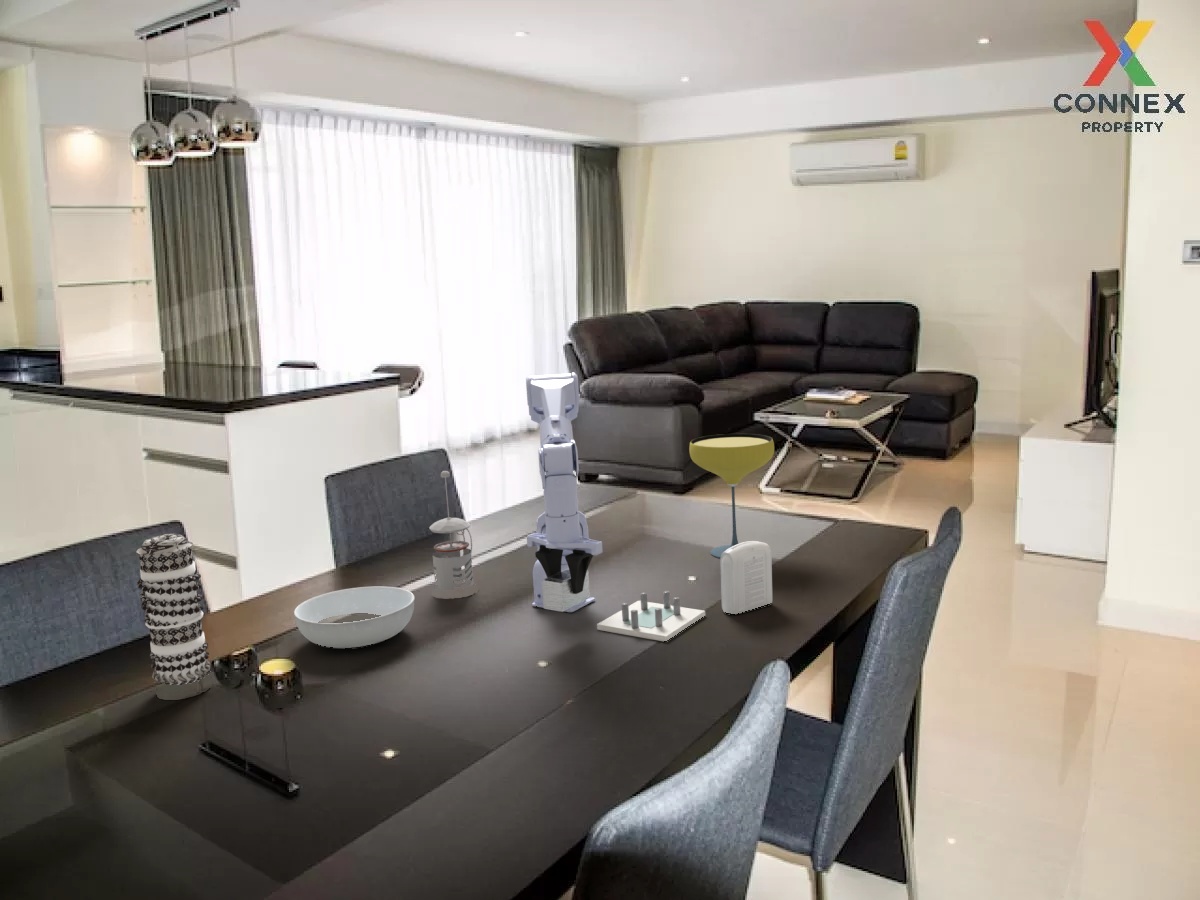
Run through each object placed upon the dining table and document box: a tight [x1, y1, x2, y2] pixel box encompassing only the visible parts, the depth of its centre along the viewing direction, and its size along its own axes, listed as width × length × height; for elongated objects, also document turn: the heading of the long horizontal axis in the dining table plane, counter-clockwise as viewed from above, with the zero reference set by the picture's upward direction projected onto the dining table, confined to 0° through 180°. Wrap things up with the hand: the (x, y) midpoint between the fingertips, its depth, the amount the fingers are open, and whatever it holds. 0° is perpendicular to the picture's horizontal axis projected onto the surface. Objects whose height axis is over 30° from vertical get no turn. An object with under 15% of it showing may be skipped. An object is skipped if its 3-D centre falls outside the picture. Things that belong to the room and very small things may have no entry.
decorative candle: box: [136, 533, 212, 686], centre depth 154 cm, size 9×9×25 cm
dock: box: [596, 590, 706, 642], centre depth 174 cm, size 14×14×4 cm
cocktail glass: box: [688, 433, 775, 559], centre depth 213 cm, size 18×18×25 cm
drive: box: [542, 568, 591, 613], centre depth 168 cm, size 4×8×5 cm, turn 146°
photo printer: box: [719, 540, 773, 615], centre depth 178 cm, size 10×4×12 cm, turn 123°
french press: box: [429, 470, 475, 590], centre depth 198 cm, size 10×12×25 cm
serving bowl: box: [293, 585, 416, 649], centre depth 174 cm, size 21×21×7 cm
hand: (566, 590), depth 168 cm, fingers closed on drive, 4 cm apart
